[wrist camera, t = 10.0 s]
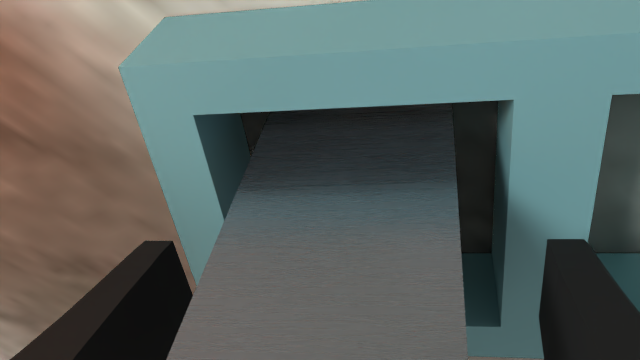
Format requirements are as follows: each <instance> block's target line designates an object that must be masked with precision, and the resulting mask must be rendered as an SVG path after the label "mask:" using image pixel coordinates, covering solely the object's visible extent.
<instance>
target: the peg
mask: <svg viewBox="0 0 640 360" xmlns="http://www.w3.org/2000/svg"><path fill="white" fill-rule="evenodd" d="M166 360H468V351H467V335H466V319H465V303H464V288H463V272H462V256H461V240H460V225H459V209H458V193H457V178H456V162H455V146H454V130H453V115H452V103H434V104H414V105H393V106H372V107H351V108H330V109H309V110H289V111H270V113H269V115H268V118H267V120H266V123H265V125H264V127H263V130H262V132H261V135H260V137H259V139H258V142H257V144H256V146H255V149H254V151H253V154H252V156H251V158H250V161H249V163H248V166H247V168H246V170H245V173H244V175H243V178H242V180H241V182H240V185H239V187H238V189H237V192H236V194H235V197H234V199H233V201H232V204H231V206H230V209H229V211H228V213H227V216H226V218H225V221H224V223H223V225H222V228H221V230H220V232H219V235H218V237H217V240H216V242H215V244H214V247H213V249H212V252H211V254H210V256H209V259H208V261H207V263H206V266H205V268H204V271H203V273H202V275H201V278H200V280H199V283H198V285H197V287H196V290H195V292H194V295H193V297H192V299H191V302H190V304H189V306H188V309H187V311H186V314H185V316H184V318H183V321H182V323H181V326H180V328H179V330H178V333H177V335H176V338H175V340H174V342H173V345H172V347H171V349H170V352H169V354H168V357H167V359H166Z"/></svg>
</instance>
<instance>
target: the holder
mask: <svg viewBox="0 0 640 360" xmlns="http://www.w3.org/2000/svg"><path fill="white" fill-rule="evenodd" d="M118 68H119V71H120V74H121V76H122V79H123V82H124V85H125V88H126V90H127V93H128V96H129V99H130V101H131V104H132V107H133V110H134V113H135V115H136V118H137V121H138V124H139V127H140V129H141V132H142V135H143V138H144V141H145V143H146V146H147V149H148V152H149V154H150V157H151V160H152V163H153V166H154V168H155V171H156V174H157V177H158V180H159V182H160V185H161V188H162V191H163V194H164V196H165V199H166V202H167V205H168V208H169V210H170V213H171V216H172V219H173V221H174V224H175V227H176V230H177V233H178V235H179V238H180V241H181V244H182V247H183V249H184V252H185V255H186V258H187V261H188V263H189V266H190V269H191V272H192V274H193V277H194V280H195V283H196V286H197V285H198V283H199V280H200V278H201V275H202V273H203V271H204V268H205V266H206V263H207V261H208V259H209V256H210V254H211V252H212V249H213V247H214V244H215V242H216V240H217V237H218V235H219V232H220V230H221V228H222V225H223V223H224V221H225V218H226V216H227V213H228V211H229V209H230V206H231V204H232V201H233V199H234V197H235V194H236V192H237V189H238V187H239V185H240V182H241V180H242V178H243V175H244V173H245V170H246V168H247V166H248V163H249V161H250V158H251V156H250V152H249V148H248V144H247V140H246V135H245V131H244V127H243V123H242V119H241V115H240V113H247V112H268V111H289V110H309V109H330V108H351V107H372V106H393V105H414V104H434V103H455V102H476V101H497V100H498V114H497V138H496V162H495V186H494V210H493V235H492V253H461V256H462V272H463V288H464V303H465V319H466V335H467V351H468V356H478V357H508V358H539V359H544V354H543V347H542V340H541V332H540V324H539V309H540V300H541V291H542V282H543V273H544V264H545V255H546V246H547V239H584V240H585V241H586V242H588V239H589V233H590V227H591V220H592V214H593V208H594V202H595V196H596V190H597V184H598V178H599V172H600V166H601V160H602V154H603V148H604V141H605V135H606V129H607V123H608V117H609V111H610V105H611V99H612V95H622V94H640V0H369V1H357V2H345V3H333V4H321V5H309V6H297V7H284V8H272V9H260V10H248V11H236V12H224V13H212V14H200V15H188V16H176V17H164V19H163V20H162V21H161V22H160V23H159V24H158V25H157V26H156V27H155V28H154V29H153V30H152V31H151V33H150V34H149V35H148V36H147V37H146V38H145V39H144V40H143V41H142V42H141V43H140V44H139V45H138V47H137V48H136V49H135V50H134V51H133V52H132V53H131V54H130V55H129V56H128V57H127V58H126V59H125V60H124V62H123V63H122V64H121V65H120V66H119V67H118ZM596 255H597V256H598V258H599V259H600V260H601V262H602V263H603V265H604V266H605V267H606V269H607V270H608V272H609V273H610V274H611V276H612V277H613V278H614V280H615V281H616V282H617V284H618V285H619V286H620V288H621V289H622V290H623V292H624V293H625V294H626V296H627V297H628V298H629V299H630V301H631V302H632V303H633V305H634V306H635V307H636V308H637V310H638V311H639V312H640V253H596Z"/></svg>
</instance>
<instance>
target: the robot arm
mask: <svg viewBox="0 0 640 360" xmlns="http://www.w3.org/2000/svg"><path fill="white" fill-rule="evenodd" d="M192 297H193V295H192V292H191V289H190V286H189V284H188V281H187V278H186V276H185V273H184V270H183V267H182V265H181V262H180V259H179V257H178V254H177V251H176V248H175V246H174V243H173V241H144V242H143V243H142V244H141V245H140V246H139V247H137V248H136V249H135V250H134V251H133V252H132V253H131V254H130V255H128V256H127V257H126V258H125V259H124V260H123V261H122V262H121V263H120V264H119V265H118V266H116V267H115V268H114V269H113V270H112V271H111V272H110V273H109V274H108V275H107V276H106V277H105V278H104V279H102V280H101V281H100V282H99V283H98V284H97V285H96V286H95V287H94V288H93V289H92V290H90V291H89V292H88V293H87V294H86V295H85V296H84V297H83V298H82V299H81V300H79V301H78V302H77V303H76V304H75V305H74V306H73V307H72V308H71V309H70V310H68V311H67V312H66V313H65V314H64V315H63V316H62V317H61V318H59V319H58V320H57V321H56V322H55V323H53V324H52V325H51V326H50V327H49V328H47V329H46V330H45V331H44V332H43V333H42V334H40V335H39V336H38V337H37V338H36V339H34V340H33V341H32V342H31V343H30V344H29V345H27V346H26V347H25V348H24V349H23V350H21V351H20V352H19V353H18V354H16V355H15V356H14V357H13V358H11V359H10V360H166V359H167V357H168V354H169V352H170V349H171V347H172V345H173V342H174V340H175V338H176V335H177V333H178V330H179V328H180V326H181V323H182V321H183V318H184V316H185V314H186V311H187V309H188V306H189V304H190V302H191V299H192ZM539 324H540V332H541V340H542V347H543V354H544V360H640V312H639V311H638V310H637V308H636V307H635V306H634V305H633V303H632V302H631V301H630V299H629V298H628V297H627V296H626V294H625V293H624V292H623V290H622V289H621V288H620V286H619V285H618V284H617V282H616V281H615V280H614V278H613V277H612V276H611V274H610V273H609V272H608V270H607V269H606V267H605V266H604V265H603V263H602V262H601V260H600V259H599V258H598V256H597V255H596V253H595V252H594V250H593V249H592V247H591V246H590V244H589V243H588V242H586V241H585V240H584V239H547V246H546V255H545V264H544V273H543V282H542V291H541V300H540V309H539Z"/></svg>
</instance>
